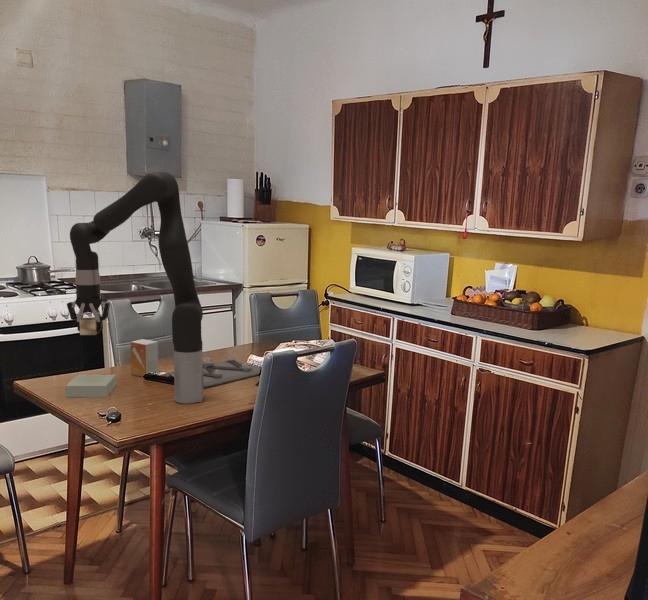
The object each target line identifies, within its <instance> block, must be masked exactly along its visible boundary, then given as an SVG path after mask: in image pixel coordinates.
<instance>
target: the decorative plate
mask: <svg viewBox="0 0 648 600" xmlns="http://www.w3.org/2000/svg"><path fill="white" fill-rule="evenodd" d="M214 361H215V359H213V357H210V355H209V357H205V356H203V358H202V367H203V390H204V389H207V388H212V387H215V386H219V385H223V384H229V383H231V382H236V381H240V380H245V379H248V378H252V377H256V376H259V373H260V369H261V368H259V367H257V366H254V365H253V364H251V363H252V362H249V361H248V362H247V361H245V362H240V361H237V360H236V357H235V356H234V355H228V357H226V360H223V361H218V362H214ZM170 374H173V375H174V371H172V372H171V373H170Z"/></svg>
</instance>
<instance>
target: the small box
mask: <svg viewBox="0 0 648 600" xmlns="http://www.w3.org/2000/svg"><path fill="white" fill-rule="evenodd" d="M130 363H131V364H130V365H131V367H130V370H131V372H130V373H131V375H133V376H136V377H137V376H138V377H140V376H141V378H144V377H143V376H144V375H145V374H148V373H151V372H158V373H159V342H158V341H155V340H150V339H144V338H141V339H137V340H133V341H130Z"/></svg>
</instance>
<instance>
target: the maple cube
mask: <svg viewBox="0 0 648 600" xmlns="http://www.w3.org/2000/svg"><path fill="white" fill-rule="evenodd" d="M79 321H80V332H79V335H80V336H96V335H98V334H99V333H97V328H96V322H97V321H96V318H95V317H83V319H81V320H79Z"/></svg>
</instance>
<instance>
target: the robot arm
mask: <svg viewBox="0 0 648 600" xmlns="http://www.w3.org/2000/svg"><path fill="white" fill-rule="evenodd" d="M180 200H181V199H180V190H179V185H178V181H177V179H176V177H175V176H174V175H173V174H171V173H170V172H166V171H152V172H149V173H147V174H146V175H144V176H143V177H142V178H141V179H140V180H138V182H137V183H136V184H135V185H134V186H133V187H132V188H131V189H129V190H128V191H127V192H126V193H125V194H123V195H122V196H120V197H119V198H118V199H117V200H115V201H114V202H112V203H111V204H109V205H107V206H106V207H104V208H102V209H101V210H99V211H98V212H97V213H96V214H94V216H93V220H91V221H89V222H77V223H75V224H74V223H73V224H72V227H71V228H70V231H69V239H70V243H71V247H72V251H73V253H74V256H75V281H74V282H75V291H76V292H75V297H76V298H75V301H69V302H67V303H66V307H67V310H68V314H69V316H70V320H72V321H75V322H76V325H77V329H76V330H77V331H78V332H79V333H80V321H79V320H81V319H83V318H84V317H85V314H86V313H87V314H88V313H89V314H91V313H92V314H93V316H94V318H96V321H97V322H96V328H97V333H98V334H99V333H100V332H101V331H102V329H103V321H106V320H107V319H108V315H109V311H110V308H111V307H110V306H111V302H110V301H107V302H106V301H103V300H102V298H101V279H100V276H101V274H100V270H99V267H100V266H99V265H100V264H99V254H98V253H97V252H96V251H92V248H91V245H92V244H97V243H99V242H100V241H102V240H103V239H104V238H105V237H106V236H107V235H108V234H109V233H110V232H111V231H113V230H115V229H116V228H118V227H120V226H121V225H123V224H124V223H125V222H126V221H128V219H130V218H131V217H132V216H133V214H134V213H135V212H136V211H138V210H140V209H141V208H144V207H145V206H148V205H150V204H153V203H157V208H158V211H159V215H160V225H159V226H160V227H159V233H158V250H159V255H160V258H161V264H162V267H163V269H164V271H165V273H166V276H167V278H168V280H169V283H170V286H171V289H172V292H173V299H174V306H175V307H174V309H173V311H172V314H171V330H172V344H173V372H174V378H173V379H174V380H173V381H174V383H173V384H174V385H173V386H174V391H173V392H174V402H176V403H178V404H185V405H186V404H189V405H190V404H196V403H202V402H203V398H204V389H203V367H202V359H203V340H202V320H203V317H204V312H203V307H202V305H201V301H200V298H199V296H198V292H197V289H196V285H195V279H194V278H195V277H194V272H193V271H194V270H193V264H192V259H191V258H192V257H191V253H190V249H189V248H190V247H189V242H188V239H187V234H186V230H185V224H184V220H183V216H182V208H181V207H182V206H181V201H180ZM100 306H102V309H103V312H102V315H101V311H100V309H99V308H100ZM76 307H78V309H79V310H78V313H76V309H75V308H76Z"/></svg>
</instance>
